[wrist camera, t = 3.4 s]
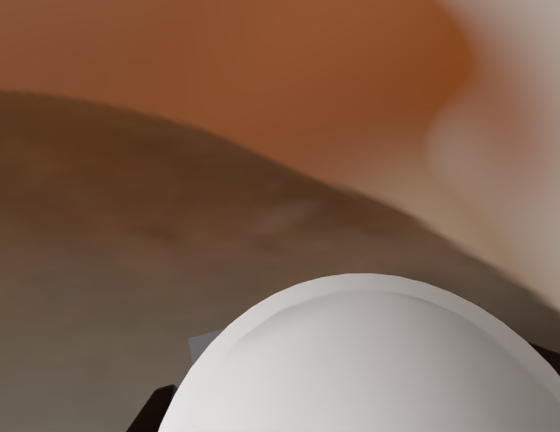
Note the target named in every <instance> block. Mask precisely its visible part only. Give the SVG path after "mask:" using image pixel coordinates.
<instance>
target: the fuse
mask: <svg viewBox="0 0 560 432" xmlns="http://www.w3.org/2000/svg"><path fill="white" fill-rule="evenodd" d="M158 432H560V376H559V375H558V374H557V372H556V371H555V370H554V369H553V368H552V366H551V365H550V364H549V363H548V362H547V361H546V360H545V359H544V358H543V357H542V356H541V355H540V354H539V353H538V352H537V351H536V350H535V349H534V348H533V347H532V346H531V345H530V344H529V343H527V342H526V341H525V340H524V339H523V338H522V337H520V336H519V335H518V334H517V333H515V332H514V331H513V330H512V329H510V328H509V327H508V326H507V325H505V324H504V323H503V322H502V321H500V320H499V319H497V318H496V317H494V316H492V315H491V314H489V313H488V312H486V311H485V310H483V309H482V308H480V307H478V306H477V305H475V304H473V303H471V302H469V301H467V300H465V299H463V298H461V297H459V296H457V295H455V294H453V293H451V292H449V291H446V290H443V289H441V288H438V287H435V286H432V285H430V284H427V283H424V282H420V281H416V280H412V279H407V278H403V277H399V276H391V275H382V274H373V273H367V274H342V275H335V276H328V277H321V278H318V279H314V280H311V281H307V282H304V283H300V284H297V285H294V286H292V287H290V288H287V289H285V290H283V291H280V292H278V293H276V294H274V295H272V296H270V297H268V298H267V299H265V300H263V301H262V302H260V303H258V304H257V305H255V306H253V307H252V308H250V309H249V310H248V311H246V312H245V313H244V314H242V315H241V316H240V317H239V318H237V319H236V320H235V321H233V322H232V323H231V324H230V325H229V326H228V327H227V328H226V329H225V330H224V331H223V332H222V333H221V334H220V335H219V336H218V337H217V338H216V339H215V340H214V341H213V342H212V343H211V344H210V345H209V346H208V347H207V348H206V350H205V351H204V352H203V354H202V355H201V356H200V357H199V359H198V360H197V361H196V362H195V364H194V365H193V366H192V367H191V369H190V371H189V372H188V374H187V376H186V377H185V379H184V380H183V382H182V384H181V385H180V387H179V389H178V390H177V392H176V393H175V395H174V397H173V399H172V402H171V404H170V406H169V408H168V410H167V412H166V414H165V416H164V419H163V421H162V423H161V425H160V428H159V431H158Z"/></svg>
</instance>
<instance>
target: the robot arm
mask: <svg viewBox="0 0 560 432" xmlns="http://www.w3.org/2000/svg"><path fill="white" fill-rule="evenodd" d="M526 342H527V341H526ZM527 343H529V344H530V345H531V346H532V347H533V348H534V349H535V350H536V351H537V352H538V353H539V354H540V355H541V356H542V357H543V358H544V359H545V360H546V361H547V362H548V363H549V364H550V365H551V366H552V368H553V369H554V370H555V371H556V372H557V374H558V375H559V376H560V354H559V353H557V352H554V351H551V350H549V349H546V348H543V347H541V346H538V345H535V344H533V343H530V342H527ZM177 390H178V389H177V387H176V386H175V385H173V384H172V385H168V386H165V387H162V388H158V389H156V390H155V391H154V392H153V394H152V395H151V397H150V398H149V400H148V401H147V402H146V404H145V405H144V407H143V408H142V410H141V411H140V413H139V414H138V415H137V417H136V418H135V420H134V421H133V423H132V424H131V425H130V427H129V428H128V430H127V431H126V432H158V431H159V428H160V425H161V423H162V421H163V419H164V416H165V414H166V412H167V410H168V408H169V406H170V404H171V402H172V399H173V397H174V395H175V393H176V392H177Z"/></svg>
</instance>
